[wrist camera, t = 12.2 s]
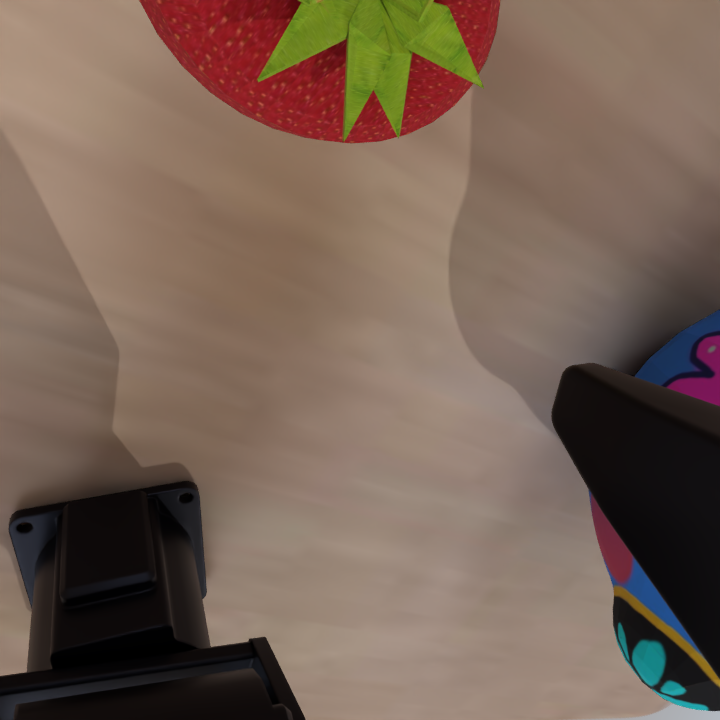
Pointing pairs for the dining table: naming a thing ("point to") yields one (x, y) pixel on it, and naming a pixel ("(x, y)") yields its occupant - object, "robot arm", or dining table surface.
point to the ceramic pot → (631, 585)
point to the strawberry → (332, 59)
